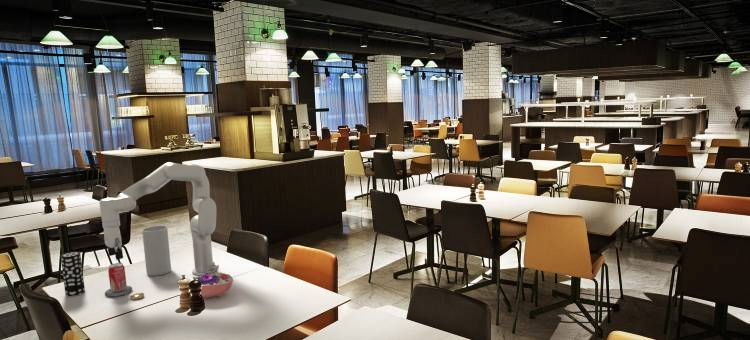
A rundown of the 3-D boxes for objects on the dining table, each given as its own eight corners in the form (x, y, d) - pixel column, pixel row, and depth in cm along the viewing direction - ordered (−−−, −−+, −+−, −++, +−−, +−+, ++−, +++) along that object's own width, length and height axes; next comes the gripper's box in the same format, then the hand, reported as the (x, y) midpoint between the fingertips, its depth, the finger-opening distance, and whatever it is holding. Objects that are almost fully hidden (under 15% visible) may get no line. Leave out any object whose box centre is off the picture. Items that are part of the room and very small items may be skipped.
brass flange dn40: (147, 295, 233) (146, 293, 233) (138, 300, 228) (138, 298, 227) (136, 294, 235) (136, 292, 235) (127, 299, 229) (127, 297, 229)
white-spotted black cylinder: (61, 294, 238) (56, 255, 235) (78, 288, 245) (74, 251, 242) (71, 297, 234) (66, 258, 231) (88, 291, 241) (83, 253, 238)
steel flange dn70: (137, 288, 243) (137, 285, 242) (120, 298, 231) (119, 295, 231) (117, 287, 245) (117, 284, 245) (99, 296, 234) (98, 293, 234)
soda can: (130, 287, 242) (127, 262, 240) (121, 292, 235) (118, 267, 233) (116, 287, 242) (113, 262, 240) (107, 292, 235) (104, 267, 233)
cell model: (223, 304, 220) (221, 280, 219) (184, 301, 224) (182, 278, 223) (240, 289, 237) (239, 267, 235) (204, 288, 241) (202, 266, 239)
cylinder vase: (146, 270, 269) (142, 227, 265) (170, 267, 274) (166, 224, 271) (146, 277, 258) (141, 232, 254) (171, 273, 263) (167, 229, 259)
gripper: (96, 222, 237) (101, 255, 239) (109, 227, 225) (114, 262, 227) (113, 219, 242) (117, 251, 245) (126, 224, 230) (130, 258, 233)
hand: (116, 257), depth 236 cm, fingers open, 9 cm apart
